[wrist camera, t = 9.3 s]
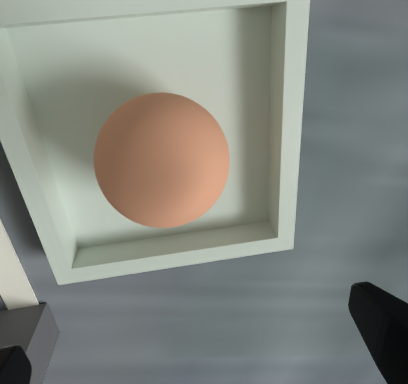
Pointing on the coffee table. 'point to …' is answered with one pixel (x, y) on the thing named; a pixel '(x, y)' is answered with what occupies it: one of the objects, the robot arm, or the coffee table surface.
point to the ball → (161, 160)
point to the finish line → (24, 313)
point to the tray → (144, 84)
